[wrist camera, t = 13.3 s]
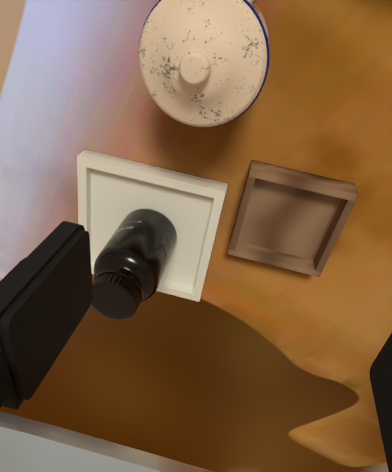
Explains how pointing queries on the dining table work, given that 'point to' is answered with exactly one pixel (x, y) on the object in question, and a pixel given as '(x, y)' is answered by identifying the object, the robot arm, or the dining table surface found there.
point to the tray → (156, 198)
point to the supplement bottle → (132, 263)
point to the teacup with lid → (204, 58)
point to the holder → (290, 218)
